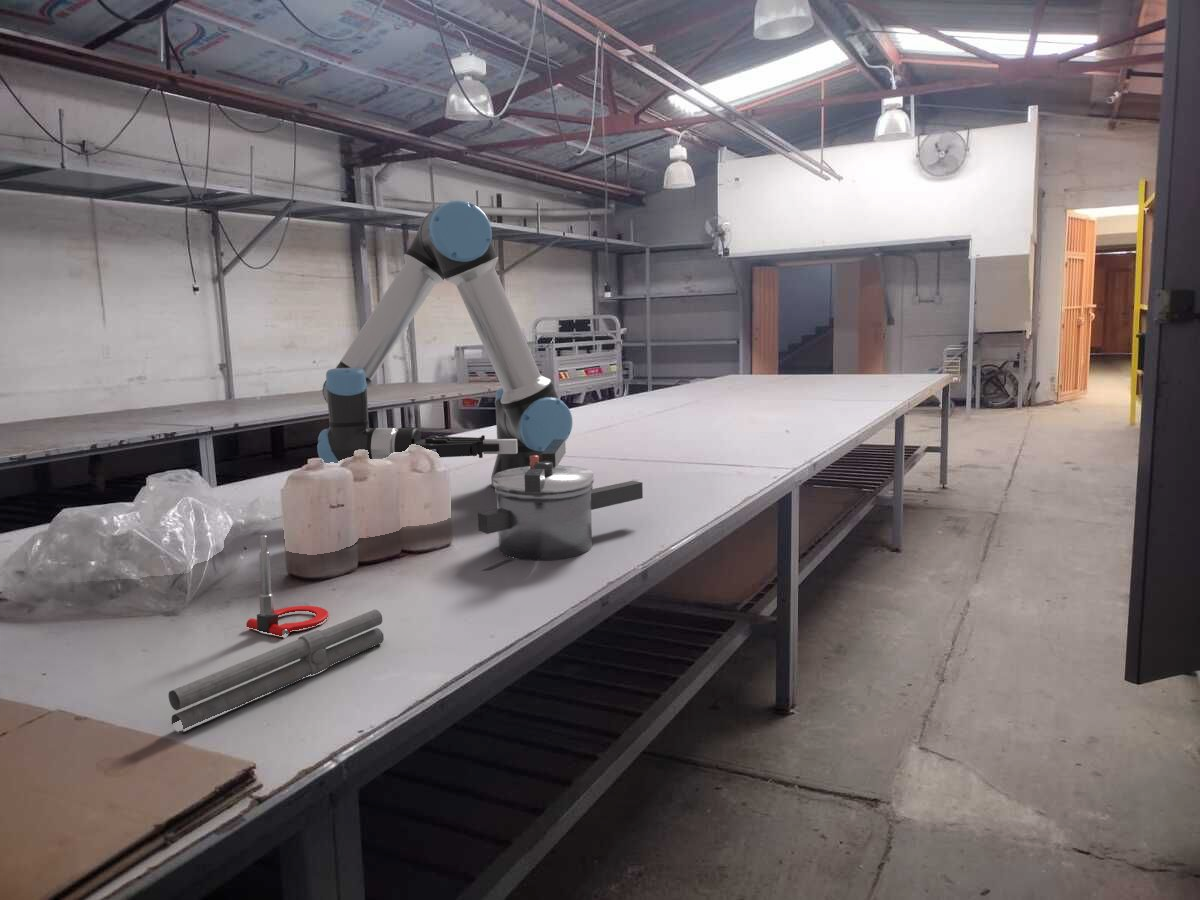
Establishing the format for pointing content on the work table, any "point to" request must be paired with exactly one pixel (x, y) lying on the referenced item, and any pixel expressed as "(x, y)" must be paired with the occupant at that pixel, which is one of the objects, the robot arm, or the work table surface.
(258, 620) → the tow hook
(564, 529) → the pot
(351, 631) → the metal rod assembly
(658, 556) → the work table surface
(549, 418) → the robot arm
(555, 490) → the lid
